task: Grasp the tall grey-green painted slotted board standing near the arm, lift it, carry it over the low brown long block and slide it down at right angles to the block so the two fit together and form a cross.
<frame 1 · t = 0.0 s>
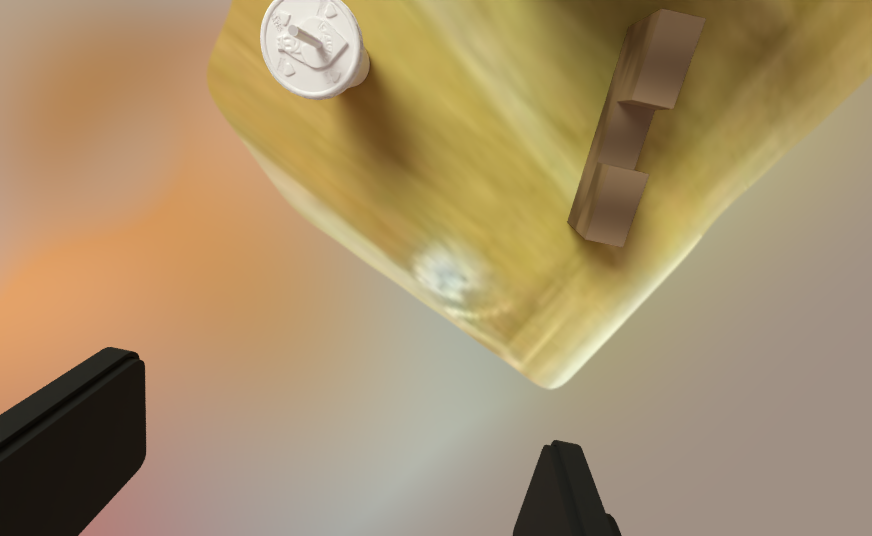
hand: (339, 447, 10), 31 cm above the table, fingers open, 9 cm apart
brown long block: (613, 135, 37), on the table
smoothie: (348, 63, 36), on the table
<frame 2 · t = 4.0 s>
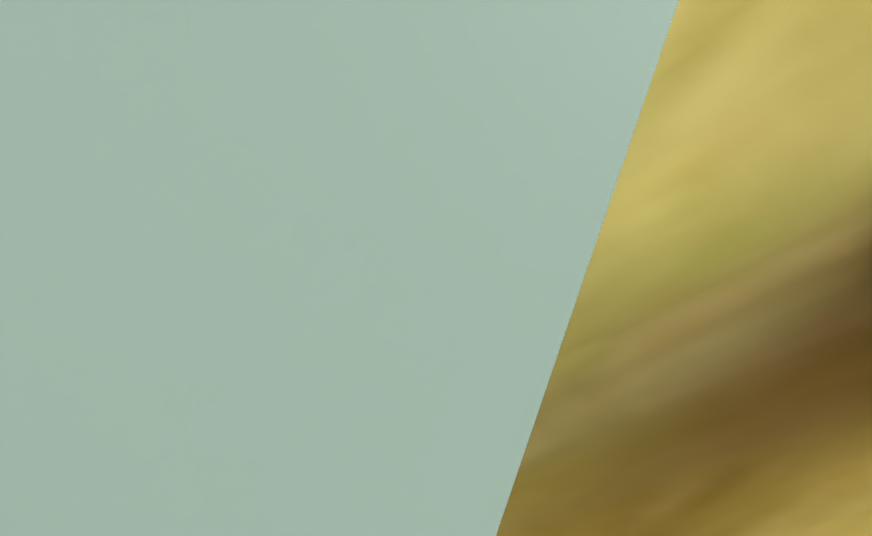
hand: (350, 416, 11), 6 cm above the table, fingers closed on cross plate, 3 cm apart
cross plate: (386, 319, 17), on the table, touching gripper
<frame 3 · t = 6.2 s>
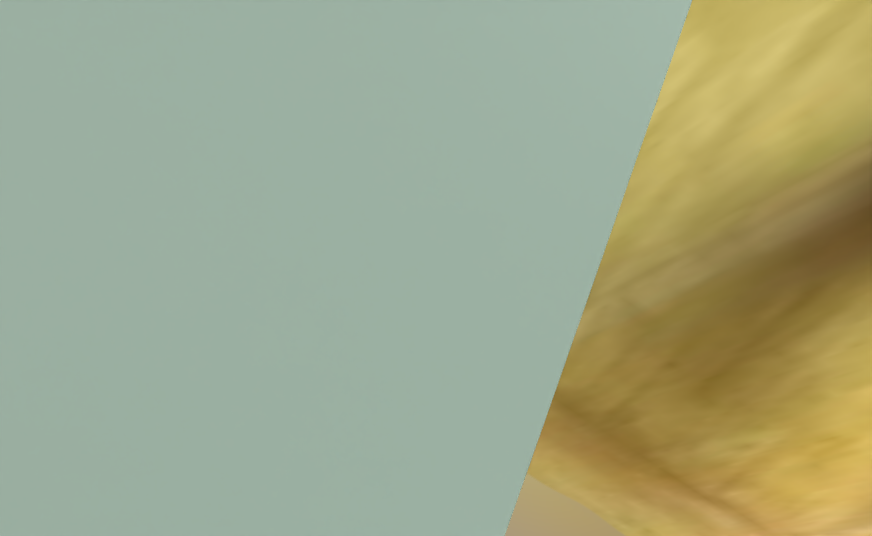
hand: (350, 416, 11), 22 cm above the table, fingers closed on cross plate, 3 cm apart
cross plate: (386, 320, 17), point 17 cm above the table, touching gripper
when the fingers open (7 cm above the table, at t = 8.9 s): cross plate drops 1 cm, on the table.
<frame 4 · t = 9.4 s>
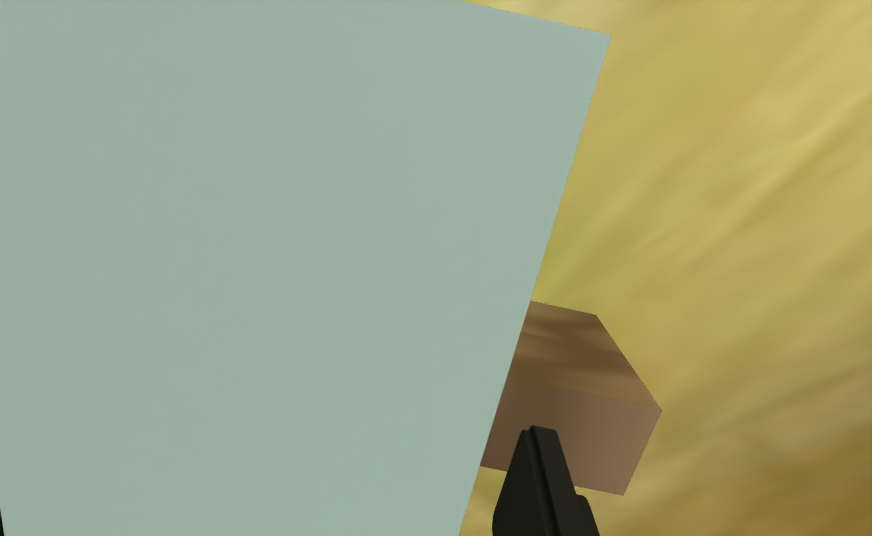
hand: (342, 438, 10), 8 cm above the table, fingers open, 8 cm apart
brown long block: (391, 306, 18), on the table
cross plate: (393, 307, 18), on the table
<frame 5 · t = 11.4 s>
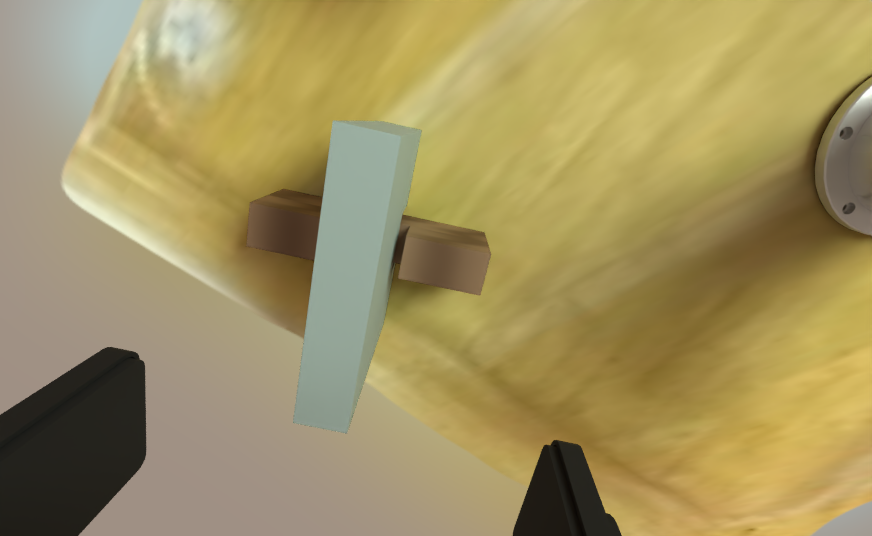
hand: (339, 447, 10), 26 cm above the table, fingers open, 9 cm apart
brown long block: (381, 229, 35), on the table
cross plate: (382, 229, 35), on the table
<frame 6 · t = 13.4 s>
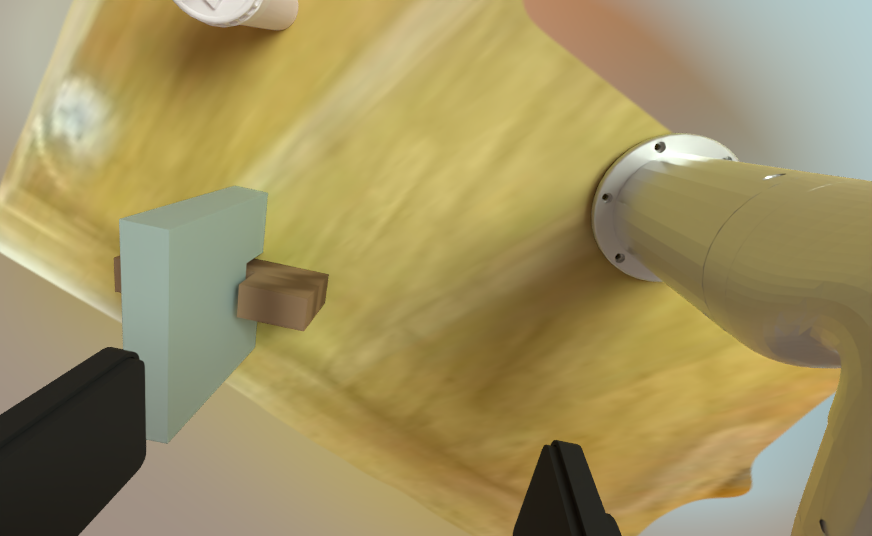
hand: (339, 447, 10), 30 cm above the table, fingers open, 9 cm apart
brown long block: (244, 271, 42), on the table
cross plate: (245, 271, 42), on the table
smoothie: (276, 4, 35), on the table
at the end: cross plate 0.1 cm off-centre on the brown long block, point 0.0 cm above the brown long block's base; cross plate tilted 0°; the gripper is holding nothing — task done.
